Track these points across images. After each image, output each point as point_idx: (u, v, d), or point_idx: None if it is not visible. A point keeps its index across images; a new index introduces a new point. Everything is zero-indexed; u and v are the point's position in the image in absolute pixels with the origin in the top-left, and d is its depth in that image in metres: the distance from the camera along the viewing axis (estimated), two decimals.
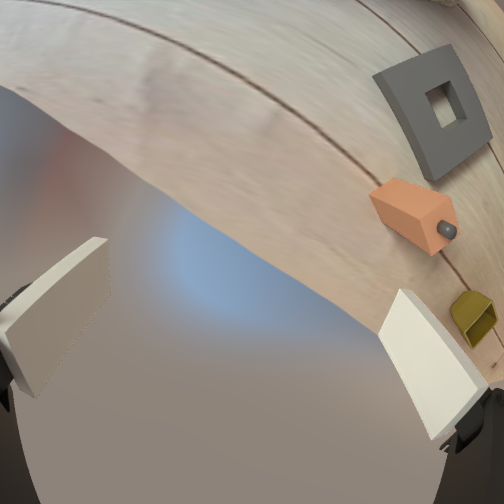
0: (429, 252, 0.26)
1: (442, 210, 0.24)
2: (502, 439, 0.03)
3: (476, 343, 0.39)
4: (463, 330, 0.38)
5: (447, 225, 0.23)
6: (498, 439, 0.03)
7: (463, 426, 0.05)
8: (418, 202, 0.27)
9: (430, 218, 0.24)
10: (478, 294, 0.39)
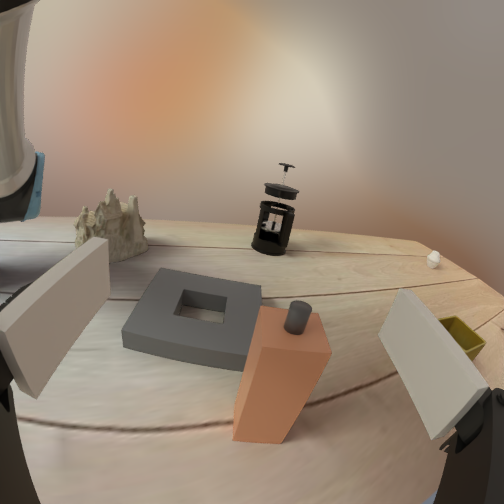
0: (324, 355, 0.18)
1: (270, 319, 0.20)
2: (502, 439, 0.03)
3: (479, 338, 0.31)
4: None
5: (289, 311, 0.19)
6: (498, 439, 0.03)
7: (463, 426, 0.05)
8: (252, 357, 0.21)
9: (271, 334, 0.19)
10: None
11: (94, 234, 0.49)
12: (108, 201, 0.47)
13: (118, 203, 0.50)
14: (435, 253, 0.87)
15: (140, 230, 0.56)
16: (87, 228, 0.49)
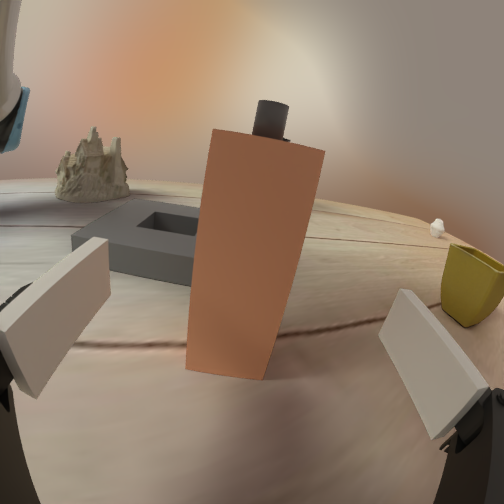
0: (314, 154, 0.11)
1: None
2: (502, 439, 0.03)
3: None
4: (495, 275, 0.21)
5: None
6: (498, 439, 0.03)
7: (463, 426, 0.05)
8: None
9: None
10: (445, 273, 0.29)
11: (73, 175, 0.43)
12: (90, 138, 0.41)
13: (100, 142, 0.44)
14: (439, 221, 0.81)
15: (121, 173, 0.50)
16: (67, 169, 0.43)
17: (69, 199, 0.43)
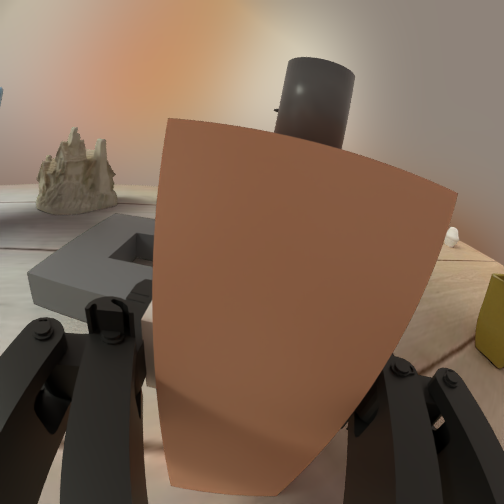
0: (438, 202, 0.04)
1: None
2: (407, 422, 0.04)
3: None
4: None
5: (285, 78, 0.05)
6: (401, 424, 0.04)
7: None
8: None
9: None
10: (483, 309, 0.21)
11: (54, 183, 0.37)
12: (71, 140, 0.34)
13: (83, 145, 0.37)
14: (453, 229, 0.73)
15: (107, 179, 0.43)
16: (47, 176, 0.36)
17: (49, 210, 0.36)
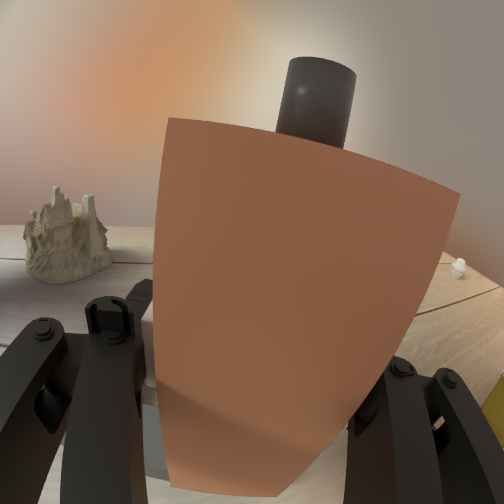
0: (441, 203, 0.04)
1: None
2: (407, 422, 0.04)
3: None
4: None
5: (286, 77, 0.05)
6: (401, 424, 0.04)
7: None
8: None
9: None
10: (488, 403, 0.18)
11: (41, 247, 0.33)
12: (54, 202, 0.31)
13: (68, 204, 0.34)
14: (461, 261, 0.70)
15: (99, 240, 0.40)
16: (33, 238, 0.33)
17: (40, 278, 0.33)
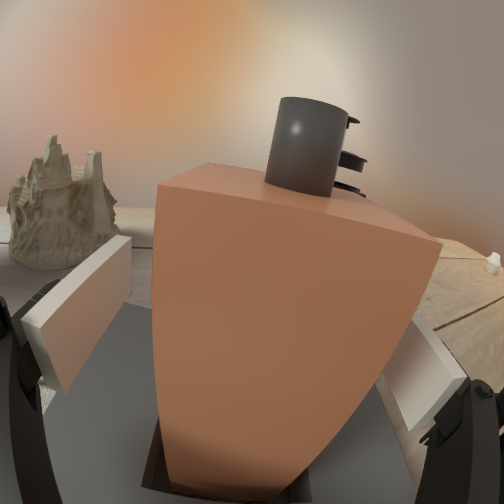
0: (422, 254, 0.04)
1: (226, 170, 0.07)
2: (484, 433, 0.04)
3: None
4: None
5: (277, 117, 0.06)
6: (479, 433, 0.04)
7: (442, 419, 0.06)
8: None
9: (214, 179, 0.05)
10: None
11: (27, 220, 0.23)
12: (47, 156, 0.21)
13: (67, 162, 0.24)
14: (496, 255, 0.58)
15: (106, 212, 0.30)
16: (17, 209, 0.23)
17: (24, 262, 0.23)
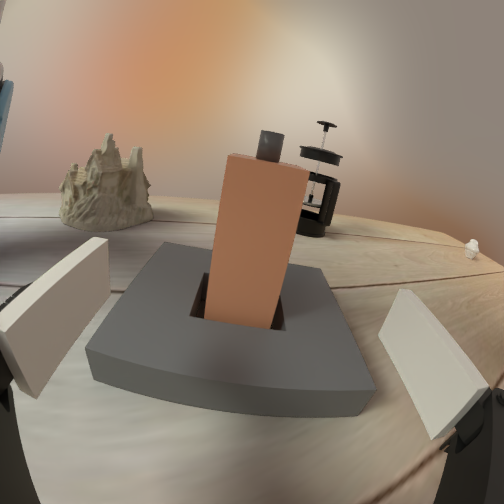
0: (302, 174, 0.16)
1: (242, 155, 0.19)
2: (502, 439, 0.03)
3: None
4: None
5: (260, 136, 0.17)
6: (498, 439, 0.03)
7: (463, 426, 0.05)
8: None
9: (240, 156, 0.17)
10: None
11: (84, 195, 0.36)
12: (105, 148, 0.33)
13: (117, 154, 0.37)
14: (474, 242, 0.70)
15: (144, 192, 0.42)
16: (75, 187, 0.35)
17: (80, 226, 0.35)
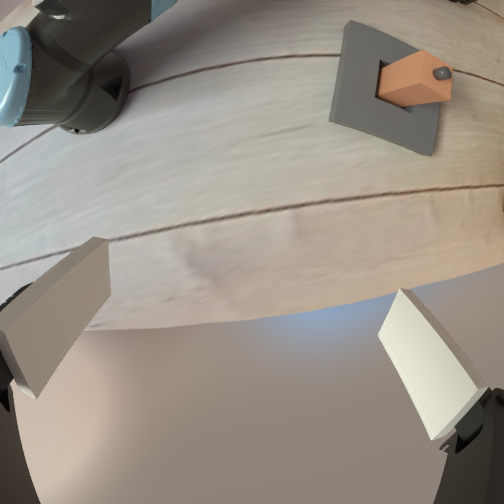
0: (446, 99, 0.22)
1: (427, 63, 0.21)
2: (502, 439, 0.03)
3: None
4: None
5: (439, 70, 0.20)
6: (498, 439, 0.03)
7: (463, 426, 0.05)
8: (408, 72, 0.24)
9: (425, 75, 0.21)
10: None
11: None
12: None
13: None
14: None
15: None
16: None
17: None
